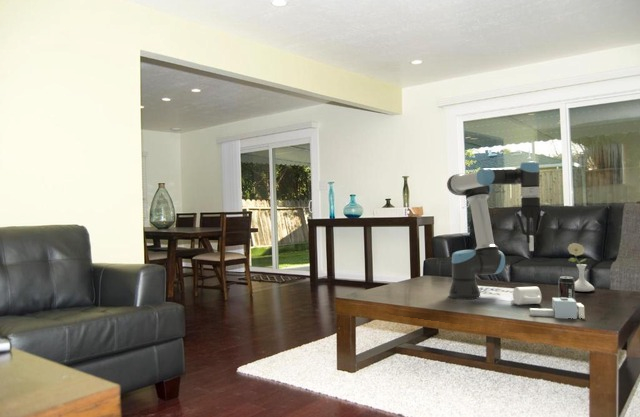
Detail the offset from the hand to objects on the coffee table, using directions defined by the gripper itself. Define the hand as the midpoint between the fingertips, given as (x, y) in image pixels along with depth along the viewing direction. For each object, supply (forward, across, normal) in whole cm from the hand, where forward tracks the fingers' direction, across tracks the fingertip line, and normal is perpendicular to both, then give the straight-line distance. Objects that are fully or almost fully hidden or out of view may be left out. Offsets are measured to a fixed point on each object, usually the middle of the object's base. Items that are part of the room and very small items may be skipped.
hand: (531, 250), depth 218 cm
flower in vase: (+27, +29, +51) cm, 64 cm away
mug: (+27, 0, +12) cm, 29 cm away
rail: (+26, +7, -9) cm, 29 cm away
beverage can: (+27, +17, +19) cm, 37 cm away
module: (+27, +11, -9) cm, 30 cm away
